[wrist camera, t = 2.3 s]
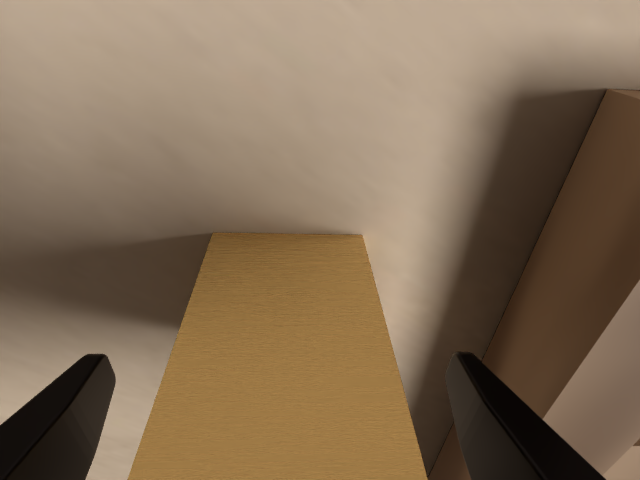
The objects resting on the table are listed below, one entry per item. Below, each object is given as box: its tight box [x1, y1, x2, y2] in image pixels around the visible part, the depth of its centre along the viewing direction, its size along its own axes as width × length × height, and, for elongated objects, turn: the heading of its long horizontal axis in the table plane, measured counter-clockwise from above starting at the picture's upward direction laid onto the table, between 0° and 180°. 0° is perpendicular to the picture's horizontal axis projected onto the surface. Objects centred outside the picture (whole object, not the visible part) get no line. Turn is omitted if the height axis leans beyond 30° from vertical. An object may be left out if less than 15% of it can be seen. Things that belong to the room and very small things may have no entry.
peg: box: [128, 233, 428, 480], centre depth 8 cm, size 4×4×8 cm
